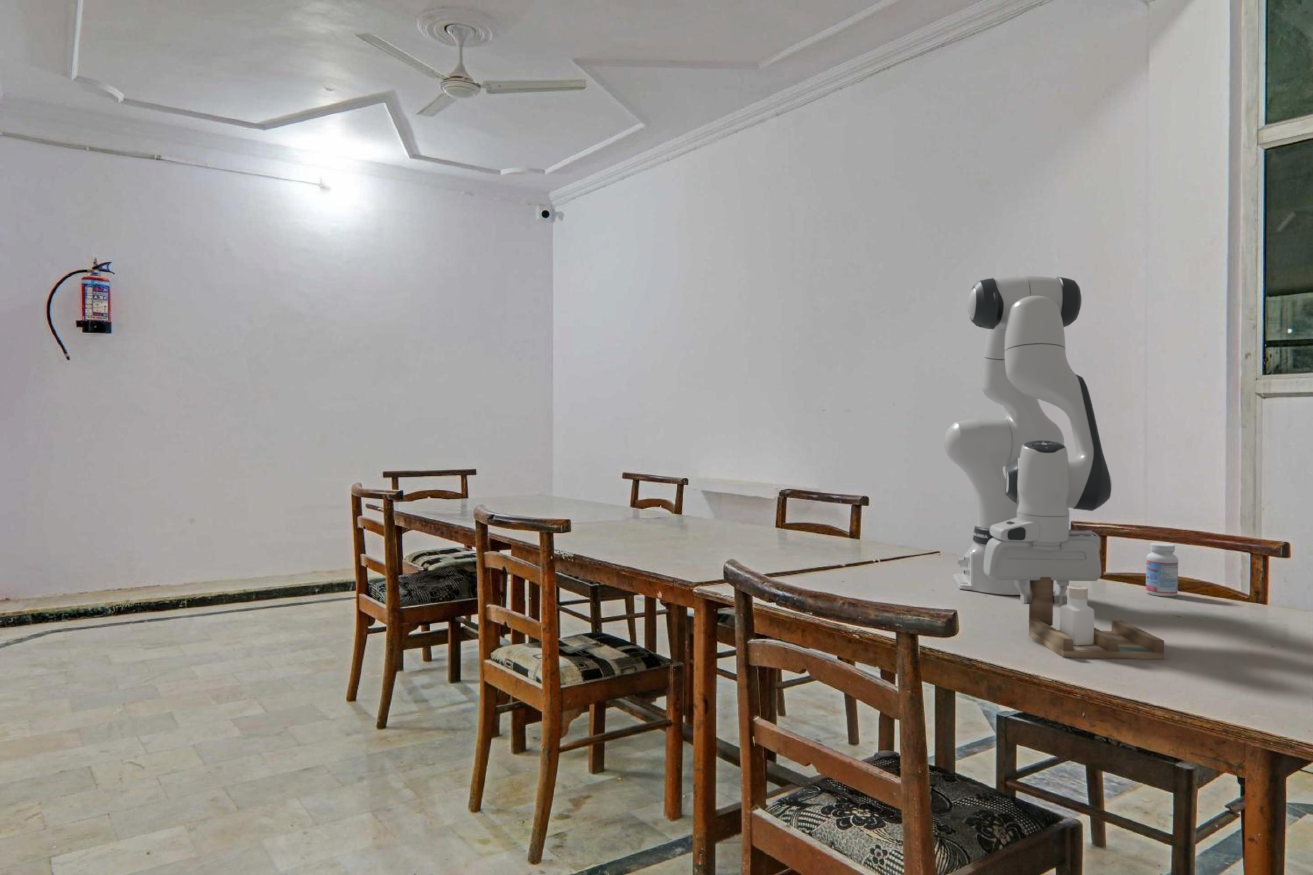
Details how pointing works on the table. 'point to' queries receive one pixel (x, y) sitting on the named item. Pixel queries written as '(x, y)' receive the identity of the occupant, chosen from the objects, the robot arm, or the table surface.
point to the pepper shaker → (1077, 617)
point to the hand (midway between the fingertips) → (1041, 603)
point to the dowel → (1042, 600)
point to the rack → (1101, 642)
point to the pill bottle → (1162, 570)
